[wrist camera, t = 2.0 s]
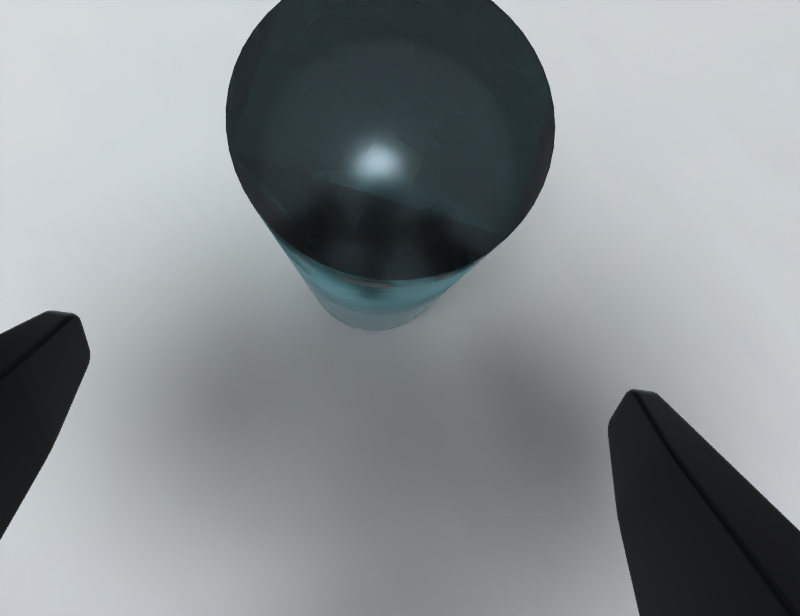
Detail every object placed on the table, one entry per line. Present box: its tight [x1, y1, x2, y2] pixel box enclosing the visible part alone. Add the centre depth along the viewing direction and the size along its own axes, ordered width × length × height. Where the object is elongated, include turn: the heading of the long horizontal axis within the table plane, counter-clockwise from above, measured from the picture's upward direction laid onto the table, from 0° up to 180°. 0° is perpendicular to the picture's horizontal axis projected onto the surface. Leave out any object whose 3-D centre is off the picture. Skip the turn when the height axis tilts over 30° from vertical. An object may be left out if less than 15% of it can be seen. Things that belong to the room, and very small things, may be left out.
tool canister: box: [226, 0, 555, 330], centre depth 14 cm, size 5×5×12 cm
